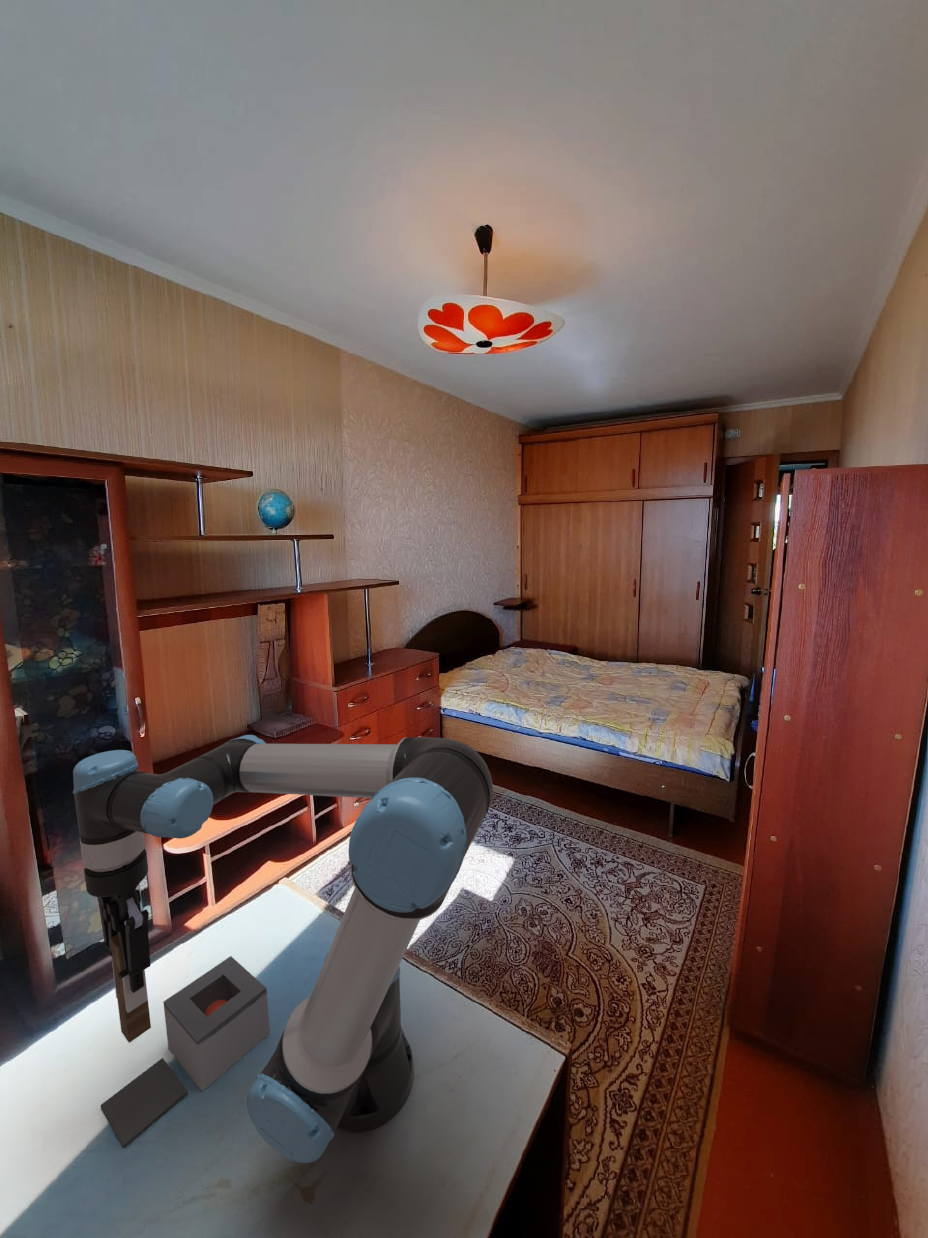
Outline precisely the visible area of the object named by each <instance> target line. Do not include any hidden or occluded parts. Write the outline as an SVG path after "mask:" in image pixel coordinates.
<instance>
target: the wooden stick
mask: <svg viewBox="0 0 928 1238" xmlns="http://www.w3.org/2000/svg"><path fill="white" fill-rule="evenodd" d="M110 944H111V952H112V957H111V958H112V959H111V961H112V960H113V966H112V969H113V968H114V975H113V977H114V976H115V983H114V985H115V984H116V991H115V993H116V992H117V998H116V999H117V1007H118V1016H119V1024H120V1031H121V1033H122V1035H123V1036H124V1038H125V1039H126V1041H127V1042H128V1044H130V1043H132V1042H133V1041H135V1040H136V1039H137V1038H138V1037H140V1036H142V1035H143V1034H144V1033H146V1032H147V1031H148V1030H150V1029H151V1028H152V1025H151V1024H152V1023H151V1016H150V1007H149V999H148V1000H147V1001H146V1002H144V1003H143V1004H141V1005H140V1006H138V1007H137V1008H135V1009H134V1010H132V1011H131V1012H129V1013H127V1011H126V1007H125V998H124V990H123V981H122V979H120V977H119V975H118V973H120V972H121V971H123V970H124V967H123V961H122V955H121V949H120V943H119V937H118V934H117V935H115V936H114V937H112V938H110Z"/></svg>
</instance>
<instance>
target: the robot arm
mask: <svg viewBox="0 0 928 1238" xmlns="http://www.w3.org/2000/svg"><path fill="white" fill-rule="evenodd" d="M72 776H73V777H72V778H73V791H72V794H73V798H74V805H75V812H76V818H77V826H78V832H79V845H80V854H81V860H82V865H83V867H84V870H83V872H84V873H83V874H84V881H85V888H86V892H87V894H89V896H91V897H95V898H97V902H98V907H99V908H98V909H99V914H100V915H99V916H100V921H101V929H102V935H103V936H102V937H103V941H104V943H103V945H104V947H105V949H107V948H108V949H109V951H108V952H109V956H110V957H111V958H112V952H111V944H110V938H112V937H114V936H115V935H117V934H118V937H119V943H120V949H121V955H122V961H123V967H124V970H123V971H121V972H120V973H118V975H119V977H120V979H122V981H123V990H124V998H125V1007H126V1011H127V1013H129V1012H131V1011H132V1010H134V1009H135V1008H137V1007H138V1006H140V1005H141V1004H143V1003H144V1002H146V1001H147V1000H148V1001H149V997H148V988H147V980H146V979H147V978H146V971H145V970H146V969H148V968H149V967H151V954H150V939H149V937H150V936H149V925H148V924H149V923H148V922H149V915H150V914H149V911H148V910H147V908H146V909H144V910H142V911H141V901H142V897H141V892H140V890H139V889H137V887H138V886H139V884H141V883H142V881H143V880H144V879H146V877H147V874H148V873H149V863H148V855H147V849H145V847H146V841H145V834H147V835H151V836H153V837H155V838H156V837H157V838H171V839H178V840H179V839H186V838H189V837H192V836H194V835H195V834H196V833H198V832H199V831H200V830H201V829H202V827H203V824H204V823H205V822H207V821H208V819H209V818H210V816H211V814H212V810H213V807H214V805H215V804H218V803H219V802H221V801H222V800H224V799H225V798H227V797H229V796H230V795H232V794H235V793H259V794H260V793H263V794H283V795H299V796H303V795H304V796H317V797H318V796H319V797H321V796H322V797H339V798H341V797H342V798H343V797H344V798H358V799H361V798H362V799H370V800H369V801H368V802H367V803H366V804H365V805H364V807H363V808H362V810H361V812H360V814H359V815H358V817H357V819H356V820H355V822H354V823H353V824H354V825H353V826H352V829H351V832H350V836H349V841H348V859H349V864H350V878H351V881H352V884H353V887H354V889H353V890H352V893H351V896H350V897H349V901H348V902H347V906H346V908H345V910H344V913H343V915H342V919H341V921H340V923H339V925H338V928H337V930H336V933H335V935H334V937H333V940H332V942H331V945H330V946H329V950H328V952H327V953H326V955H325V956H324V959H323V964H322V967H321V969H320V972H319V974H318V977H317V979H316V982H315V984H314V986H313V989H312V991H311V994H310V996H308V997H307V998H305V999H304V1000H303V1001H301V1002H300V1003H298V1005H297V1006H295V1008H294V1009H293V1010H292V1013H291V1014H290V1015H289V1017H288V1020H287V1022H286V1024H285V1027H284V1030H283V1032H282V1034H281V1036H280V1039H279V1041H278V1044H277V1046H276V1049H275V1050H274V1052H273V1053H272V1055H271V1057H270V1059H269V1061H268V1062H267V1064H266V1065H265V1067H264V1068H263V1069H262V1071H261V1072H260V1073H258V1074H257V1075H256V1077H255V1081H254V1083H253V1085H252V1086H251V1088H250V1089H249V1092H248V1093H247V1099H246V1108H247V1113H248V1116H249V1119H250V1122H251V1124H252V1125H253V1126H254V1129H255V1130H256V1131H257V1133H258V1134H259V1136H260V1137H261V1138H262V1139H263V1141H265V1143H266V1144H267V1145H269V1147H270V1148H271V1149H273V1150H274V1151H275V1152H277V1154H280V1155H281V1156H282V1157H284V1158H285V1159H288V1160H290V1161H293V1162H297V1163H301V1164H308V1163H309V1164H310V1163H312V1162H316V1161H317V1160H319V1159H320V1158H321V1157H322V1156H323V1154H324V1153H325V1151H326V1149H327V1147H328V1145H329V1143H330V1142H331V1141H333V1139H334V1137H335V1132H336V1130H337V1128H339V1129H341V1130H345V1131H348V1132H354V1133H355V1132H356V1133H357V1132H358V1133H359V1132H366V1131H370V1130H374V1129H375V1128H378V1127H381V1126H382V1125H383V1124H386V1123H387V1122H388V1121H389V1120H391V1119H392V1118H393V1117H394V1116H396V1114H398V1112H400V1110H401V1109H402V1107H403V1106H404V1104H405V1103H406V1100H407V1099H408V1097H409V1094H410V1092H411V1089H412V1086H413V1083H414V1082H413V1080H414V1059H413V1057H414V1056H413V1053H412V1048H411V1046H410V1043H409V1041H408V1039H407V1036H406V1034H405V1032H404V1030H403V1027H402V1024H401V1023H402V1022H401V1021H402V1018H401V1017H402V1015H401V1014H402V1013H401V1011H402V1010H401V986H400V982H401V981H400V978H401V977H400V975H401V967H400V965H401V962H402V960H403V958H404V956H405V954H406V951H407V949H408V947H409V944H410V942H411V940H412V938H413V936H414V934H415V931H416V929H417V927H418V925H419V923H420V920H424V919H428V917H430V916H432V915H433V914H435V913H436V912H437V911H438V910H440V908H441V906H442V905H443V903H444V901H445V899H446V897H447V894H448V893H449V890H450V888H451V887H452V885H453V883H454V882H455V880H456V878H457V876H458V874H459V872H460V870H461V867H462V865H463V862H464V859H465V856H466V854H467V853H468V851H469V849H470V847H471V844H472V843H473V841H474V838H475V837H476V835H477V833H478V831H479V829H480V827H481V825H482V824H483V823H482V822H483V821H484V819H485V817H486V816H487V813H488V812H489V809H490V807H491V803H492V800H493V793H494V792H493V790H494V787H493V779H492V775H491V772H490V770H489V766H488V764H487V763H486V762H485V760H484V758H483V757H482V756H481V755H480V754H479V753H478V752H477V751H476V750H475V749H474V748H473V747H471V746H469V745H468V744H467V743H465V742H461V741H459V740H456V739H451V738H447V737H429V736H428V737H427V736H421V737H419V736H418V737H416V736H415V737H412V736H411V737H410V736H406V737H403V738H402V739H401V740H400V741H399V742H398V743H397V744H395V743H394V744H392V743H391V744H388V743H387V744H385V743H382V744H381V743H380V744H379V743H377V744H375V743H374V744H373V743H372V744H371V743H368V744H367V743H366V744H365V743H267V742H265V741H264V740H263V739H261V738H259V737H257V736H256V735H254V734H244V735H242V736H239V737H237V738H236V737H235V738H232V739H230V740H228V741H227V742H225V743H223V744H221V745H219V746H217V747H215V748H214V749H212V750H210V751H208V752H206V753H203V754H202V755H200V756H197V757H195V758H193V759H192V760H190V761H187V762H185V763H183V764H181V765H179V766H177V767H175V768H173V769H171V770H169V771H166V772H165V773H161V774H160V773H159V774H157V773H151V772H145V771H140V770H139V763H138V760H137V756H136V755H135V754H134V753H133V752H132V751H130V750H125V749H114V750H108V751H104V752H103V751H102V752H99V753H95V754H92V755H90V756H88V757H85V758H84V759H81V760H80V761H79V762H77V764H76V765H75V766H74V768H73V770H72ZM111 966H112V972H113V973H112V975H113V980H114V981H113V982H114V989H115V998H116V999H117V992H116V984H115V976H114V968H113V960H112V959H111Z"/></svg>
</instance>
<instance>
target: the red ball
mask: <svg viewBox="0 0 928 1238" xmlns="http://www.w3.org/2000/svg"><path fill="white" fill-rule="evenodd" d="M226 1002H227V1001H226V1000H217V1001H215V1002H213V1003H212V1004H210V1005H209V1006H208V1008H207V1009H206V1012H205V1015H206V1017H208V1016H209V1015H210V1014H212V1013H213V1012H214V1011H216V1010H217V1009H218V1008H220V1007H221V1006H222V1005H224V1004H225V1003H226Z"/></svg>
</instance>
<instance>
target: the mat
mask: <svg viewBox="0 0 928 1238" xmlns="http://www.w3.org/2000/svg"><path fill="white" fill-rule="evenodd" d="M188 1095H189V1091H188V1089H187V1088H186V1087H185V1085H184V1084H183V1083H182V1082H181V1080H180V1079H179V1078H178V1076H177V1074H176V1073H175V1072H174V1071H173V1069H172V1068H171V1067H170V1066H169V1064H168V1063H167V1061H166V1060H165V1059H164V1058H163V1057H161V1059H158V1061H156V1062H155V1063H153V1064H152V1065H151V1066H150V1067H148V1068H147V1069H146V1070H144V1071H143V1072H142V1073H141V1074H139V1075H138V1076H136V1077H135V1078H134V1079H133V1080H132V1081H130V1082H129V1083H127V1084H126V1085H124V1087H122V1088H121V1089H120V1090H118V1091H117V1092H116V1093H114V1094H113V1095H111V1096H110V1097H109V1098H108V1099H107V1100H105V1101H104V1102H103V1103H101V1104H100V1110H101V1111H102V1113H103V1115H104V1117H105V1118H106V1120H107V1122H108V1124H109V1125H110V1127H111V1129H112V1130H113V1133H114V1134H115V1136H116V1139H118V1141H119V1142H120V1145H121V1147H122V1148H123V1149H125V1148H127V1147H128V1146H129V1145H130V1144H131V1143H132V1142H134V1141H135V1140H136V1139H137V1138H138V1137H140V1136H141V1135H142V1134H143V1133H144V1132H146V1130H148V1129H149V1128H150V1127H151V1126H153V1124H155V1123H156V1122H157V1121H159V1119H161V1118H162V1117H163V1116H164V1115H165V1114H167V1113H168V1112H169V1111H170V1110H171V1109H172V1108H174V1107H175V1106H176V1105H177V1104H178V1103H180V1102H181V1101H182V1100H183V1099H184V1098H186V1097H187V1096H188Z"/></svg>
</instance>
